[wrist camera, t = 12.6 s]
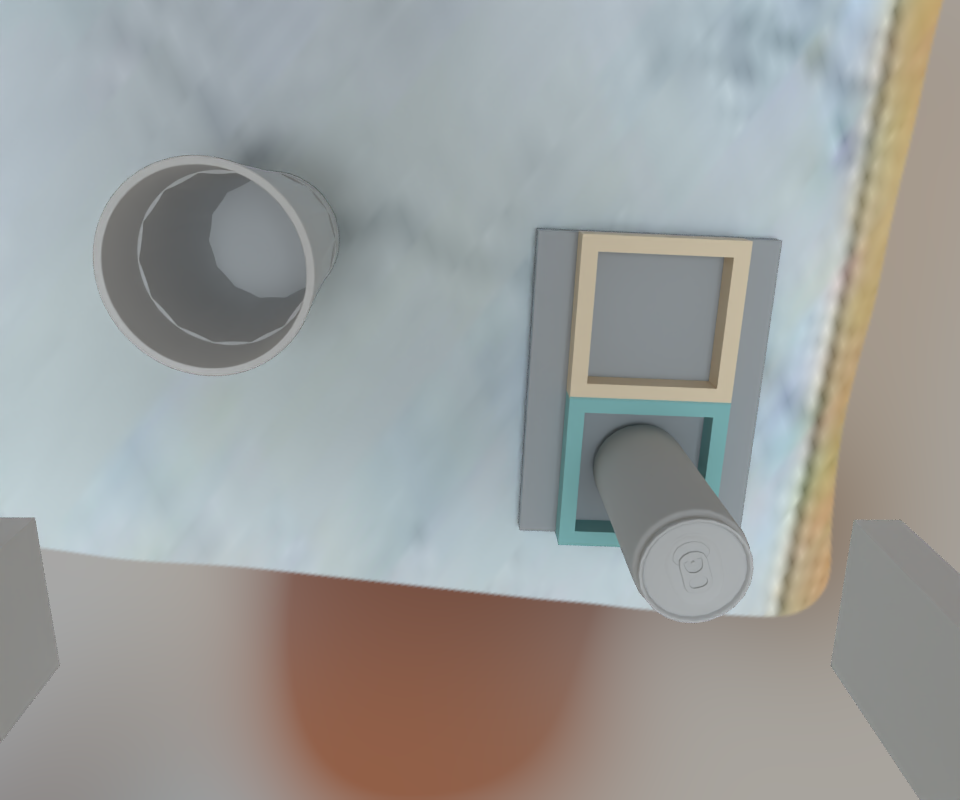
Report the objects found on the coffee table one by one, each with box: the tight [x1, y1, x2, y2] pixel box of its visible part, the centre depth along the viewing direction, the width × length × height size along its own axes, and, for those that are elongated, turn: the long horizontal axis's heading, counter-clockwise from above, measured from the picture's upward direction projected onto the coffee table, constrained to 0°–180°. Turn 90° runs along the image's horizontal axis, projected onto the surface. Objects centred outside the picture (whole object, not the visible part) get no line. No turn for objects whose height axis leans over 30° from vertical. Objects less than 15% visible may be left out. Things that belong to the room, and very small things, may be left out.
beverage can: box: [593, 424, 753, 623], centre depth 39 cm, size 5×5×12 cm
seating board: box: [518, 228, 782, 547], centre depth 43 cm, size 16×12×2 cm
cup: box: [93, 155, 339, 376], centre depth 36 cm, size 8×8×12 cm
